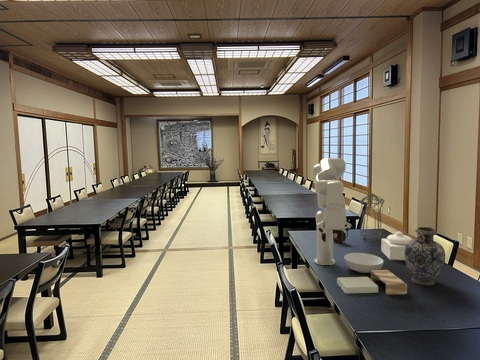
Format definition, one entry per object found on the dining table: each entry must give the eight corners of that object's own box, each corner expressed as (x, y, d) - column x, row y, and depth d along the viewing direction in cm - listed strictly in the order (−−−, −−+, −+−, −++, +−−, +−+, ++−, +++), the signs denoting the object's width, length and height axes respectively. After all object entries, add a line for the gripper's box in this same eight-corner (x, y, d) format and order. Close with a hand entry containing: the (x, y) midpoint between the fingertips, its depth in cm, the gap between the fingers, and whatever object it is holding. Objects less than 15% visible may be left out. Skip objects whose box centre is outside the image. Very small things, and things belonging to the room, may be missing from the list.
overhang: (370, 280, 179) (371, 270, 179) (388, 279, 180) (389, 269, 179) (386, 294, 162) (387, 283, 162) (406, 294, 163) (407, 283, 162)
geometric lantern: (383, 238, 256) (385, 192, 252) (379, 244, 243) (381, 196, 238) (361, 235, 265) (363, 191, 260) (356, 241, 251) (358, 194, 247)
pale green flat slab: (336, 283, 176) (337, 277, 175) (367, 282, 177) (367, 276, 176) (345, 293, 164) (345, 287, 164) (377, 292, 165) (378, 286, 164)
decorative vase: (408, 270, 192) (411, 222, 188) (446, 279, 180) (450, 227, 176) (397, 283, 175) (400, 230, 172) (438, 293, 163) (443, 236, 160)
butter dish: (408, 251, 226) (409, 228, 224) (420, 261, 208) (421, 235, 206) (381, 251, 228) (381, 227, 226) (390, 260, 210) (391, 235, 208)
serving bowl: (386, 278, 182) (387, 266, 181) (345, 275, 186) (346, 263, 185) (379, 265, 202) (379, 253, 201) (342, 262, 206) (342, 251, 205)
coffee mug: (329, 240, 252) (329, 227, 251) (339, 239, 254) (339, 226, 253) (338, 245, 241) (338, 231, 240) (348, 244, 243) (349, 230, 242)
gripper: (348, 205, 173) (347, 238, 174) (314, 205, 171) (314, 239, 172) (354, 207, 165) (353, 242, 166) (319, 207, 164) (318, 243, 165)
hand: (333, 240), depth 169 cm, fingers open, 9 cm apart
